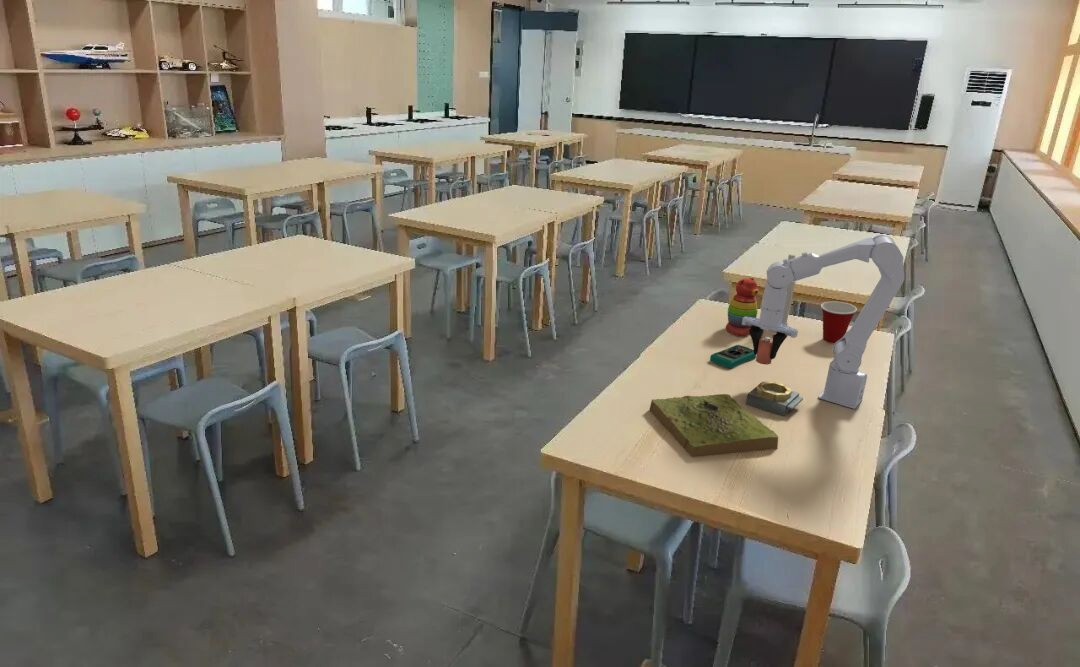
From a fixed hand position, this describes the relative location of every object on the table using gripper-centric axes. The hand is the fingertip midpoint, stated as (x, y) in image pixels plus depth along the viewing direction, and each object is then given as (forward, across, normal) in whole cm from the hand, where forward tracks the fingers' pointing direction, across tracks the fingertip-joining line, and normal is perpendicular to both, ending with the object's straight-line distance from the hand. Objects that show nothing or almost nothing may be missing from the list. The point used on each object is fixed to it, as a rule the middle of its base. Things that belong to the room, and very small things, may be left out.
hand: (764, 355), depth 197 cm
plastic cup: (+9, +4, +52) cm, 53 cm away
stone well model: (+9, +7, -9) cm, 14 cm away
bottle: (+9, -14, +53) cm, 56 cm away
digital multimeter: (+10, -13, +13) cm, 21 cm away
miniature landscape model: (+10, +1, -33) cm, 34 cm away
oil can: (+2, 0, 0) cm, 2 cm away
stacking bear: (+9, -22, +39) cm, 46 cm away
